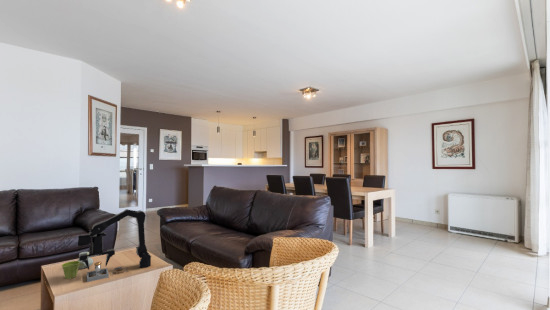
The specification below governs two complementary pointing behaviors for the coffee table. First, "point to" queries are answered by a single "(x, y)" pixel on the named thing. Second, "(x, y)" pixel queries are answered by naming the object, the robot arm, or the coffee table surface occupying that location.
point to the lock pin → (97, 268)
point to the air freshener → (82, 264)
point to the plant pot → (70, 269)
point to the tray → (98, 275)
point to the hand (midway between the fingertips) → (97, 267)
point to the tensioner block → (118, 270)
